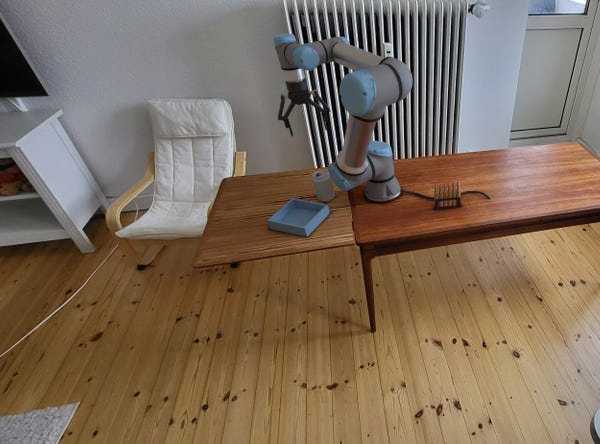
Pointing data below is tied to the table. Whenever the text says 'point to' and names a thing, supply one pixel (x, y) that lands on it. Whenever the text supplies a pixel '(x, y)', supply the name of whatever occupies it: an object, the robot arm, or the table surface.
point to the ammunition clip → (451, 199)
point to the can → (323, 185)
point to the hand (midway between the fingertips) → (309, 132)
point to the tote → (299, 217)
